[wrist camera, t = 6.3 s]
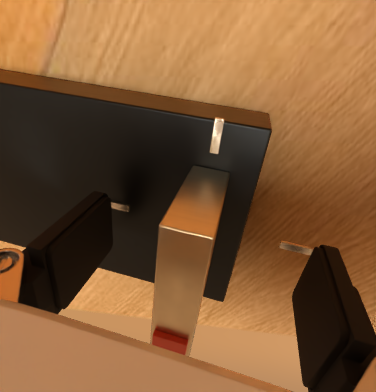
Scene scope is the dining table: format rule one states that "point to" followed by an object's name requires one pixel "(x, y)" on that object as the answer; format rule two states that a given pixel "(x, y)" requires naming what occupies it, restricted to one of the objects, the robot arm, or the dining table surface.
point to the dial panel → (123, 165)
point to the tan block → (185, 257)
